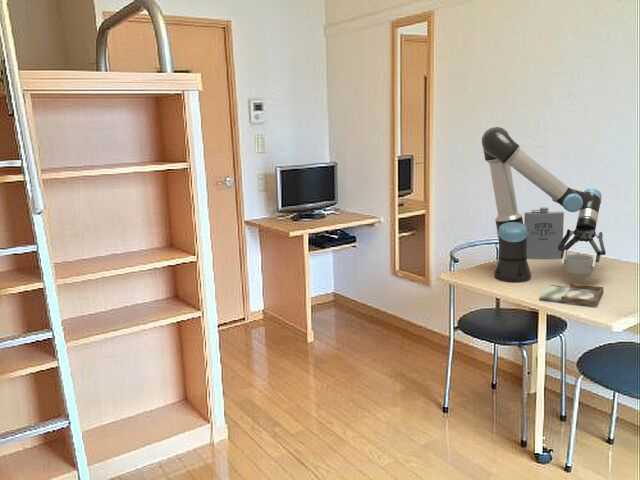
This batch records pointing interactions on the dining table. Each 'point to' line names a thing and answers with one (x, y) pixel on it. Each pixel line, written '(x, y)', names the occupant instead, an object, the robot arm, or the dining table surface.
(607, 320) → the dining table surface
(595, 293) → the board
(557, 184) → the robot arm
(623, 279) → the dining table surface
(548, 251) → the flask
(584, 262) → the teacup
